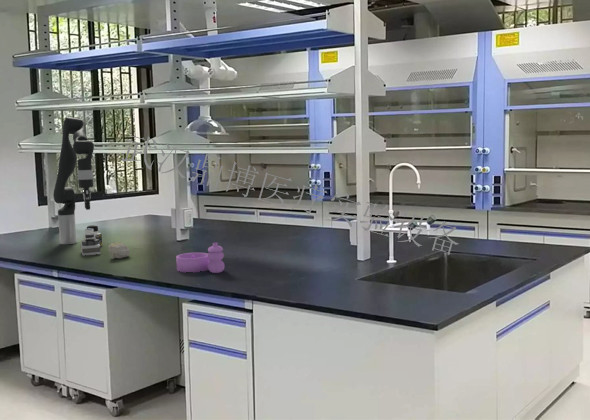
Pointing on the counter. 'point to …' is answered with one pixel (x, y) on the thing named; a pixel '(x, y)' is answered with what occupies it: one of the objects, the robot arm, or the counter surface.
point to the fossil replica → (118, 250)
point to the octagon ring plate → (90, 247)
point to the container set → (202, 260)
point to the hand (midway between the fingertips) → (87, 208)
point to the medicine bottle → (96, 233)
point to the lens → (89, 234)
